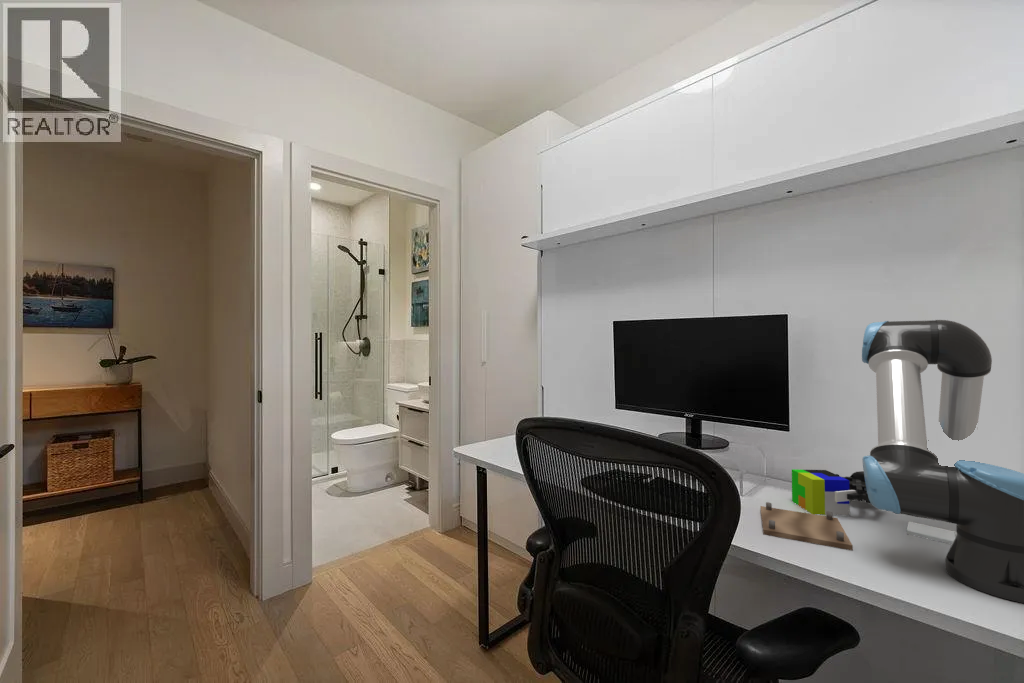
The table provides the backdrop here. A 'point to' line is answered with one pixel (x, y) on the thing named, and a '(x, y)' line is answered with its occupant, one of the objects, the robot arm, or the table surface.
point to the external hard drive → (931, 532)
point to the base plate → (804, 527)
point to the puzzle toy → (819, 491)
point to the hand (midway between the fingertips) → (813, 488)
